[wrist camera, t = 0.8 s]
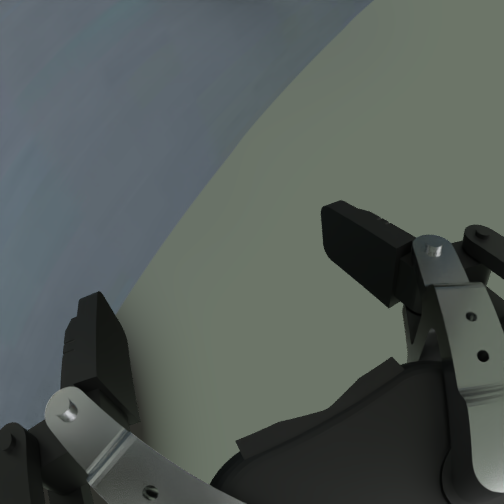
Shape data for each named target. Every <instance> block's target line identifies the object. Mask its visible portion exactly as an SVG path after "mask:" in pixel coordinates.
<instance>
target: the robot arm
mask: <svg viewBox="0 0 504 504" xmlns="http://www.w3.org/2000/svg"><path fill="white" fill-rule="evenodd" d="M321 221H322V234H323V246H324V249H325V252H326V254H327V255H328V257H329V258H330V259H331V260H332V261H333V262H334V263H335V264H337V265H338V266H339V267H340V268H342V269H343V270H344V271H345V272H346V273H348V274H349V275H350V276H351V277H352V278H354V279H355V280H356V281H357V282H358V283H360V284H361V285H362V286H363V287H364V288H366V289H367V290H368V291H369V292H370V293H372V294H373V295H374V296H375V297H376V298H377V299H379V300H380V301H381V302H382V303H383V304H384V305H385V306H387V307H388V308H390V307H392V306H393V305H395V304H396V303H398V302H400V301H401V302H402V303H403V308H402V314H403V321H404V328H405V335H406V343H407V355H408V356H407V363H405V364H402V365H399V364H398V363H397V361H395V359H394V358H393V357H391V358H389V359H388V360H386V361H385V362H383V363H382V364H380V365H379V366H377V367H376V368H374V369H373V370H371V371H370V372H368V373H366V374H365V375H363V376H362V377H360V378H359V379H358V380H357V381H356V382H355V383H354V384H353V385H352V386H351V387H350V388H349V389H348V390H347V391H346V392H345V393H344V394H343V395H342V396H341V397H340V398H339V399H338V400H337V401H336V402H335V403H334V404H333V405H332V406H330V407H329V408H328V409H326V410H323V411H320V412H317V413H313V414H309V415H306V416H302V417H298V418H294V419H290V420H285V421H281V422H278V423H275V424H273V425H271V426H269V427H267V428H265V429H262V430H260V431H258V432H256V433H254V434H251V435H249V436H246V437H244V438H241V439H239V440H236V443H237V445H238V448H239V449H240V452H238V453H237V454H236V455H234V456H233V457H232V458H231V459H230V460H228V461H227V462H226V463H225V464H224V465H223V466H222V468H221V469H220V470H219V471H218V472H217V474H216V475H215V476H214V478H213V479H212V481H211V483H210V485H209V484H207V483H205V482H204V481H202V480H200V479H198V478H197V477H195V476H193V475H192V474H190V473H188V472H187V471H185V470H183V469H182V468H180V467H179V466H177V465H176V464H174V463H173V462H171V461H170V460H168V459H166V458H165V457H164V456H162V455H161V454H159V453H158V452H156V451H155V450H153V449H152V448H151V447H149V446H148V445H147V444H145V443H144V442H143V441H141V440H140V439H139V438H137V437H136V436H135V435H133V434H132V433H131V432H130V427H129V425H132V424H135V423H138V422H140V417H139V412H138V407H137V402H136V396H135V390H134V384H133V378H132V372H131V365H130V358H129V350H128V343H127V338H126V335H125V332H124V330H123V328H122V326H121V324H120V322H119V321H118V319H117V317H116V316H115V314H114V312H113V311H112V309H111V307H110V306H109V304H108V302H107V301H106V299H105V297H104V296H103V294H102V293H101V292H99V291H98V292H96V293H93V294H91V295H88V296H86V297H84V298H81V299H80V300H79V304H78V312H77V317H75V318H72V319H71V321H70V323H69V325H68V327H67V329H66V331H65V338H64V344H65V345H64V348H63V354H64V355H63V358H62V370H61V388H60V390H59V391H58V392H56V393H55V394H54V395H53V396H52V397H51V398H50V400H49V402H48V404H47V406H46V409H45V420H43V421H42V422H40V423H38V424H37V425H35V426H34V427H32V428H31V429H29V430H28V431H27V430H26V429H25V428H23V427H22V426H21V425H19V424H18V423H13V422H12V423H8V424H6V425H5V426H4V427H3V428H2V429H1V430H0V504H45V499H44V492H43V487H44V488H46V489H48V495H49V501H50V504H94V502H93V499H92V494H91V491H90V486H89V484H90V485H91V487H92V488H93V489H94V490H95V491H96V492H97V493H98V494H99V495H100V496H101V497H102V498H103V499H104V500H106V502H108V503H109V504H504V300H503V299H502V298H500V297H499V296H498V295H497V294H495V293H494V292H493V291H492V290H490V289H489V288H488V287H487V286H486V285H487V282H488V279H489V276H490V273H491V271H493V272H494V273H496V274H497V275H498V276H500V277H501V278H502V279H504V237H503V236H501V235H500V234H498V233H497V232H495V231H493V230H492V229H490V228H488V227H485V226H482V225H470V226H468V227H466V229H465V232H464V237H463V241H459V242H455V243H450V242H449V241H448V240H446V239H445V238H442V237H440V236H436V235H422V236H419V237H417V238H416V237H414V236H412V235H411V234H409V233H407V232H405V231H404V230H402V229H400V228H398V227H397V226H395V225H393V224H391V223H389V222H388V221H386V220H384V219H381V218H380V217H379V216H377V215H375V214H373V213H371V212H369V211H365V210H362V209H358V208H356V207H354V206H352V205H350V204H348V203H346V202H345V201H341V200H340V201H337V202H334V203H331V204H329V205H326V206H323V207H322V209H321Z"/></svg>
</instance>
